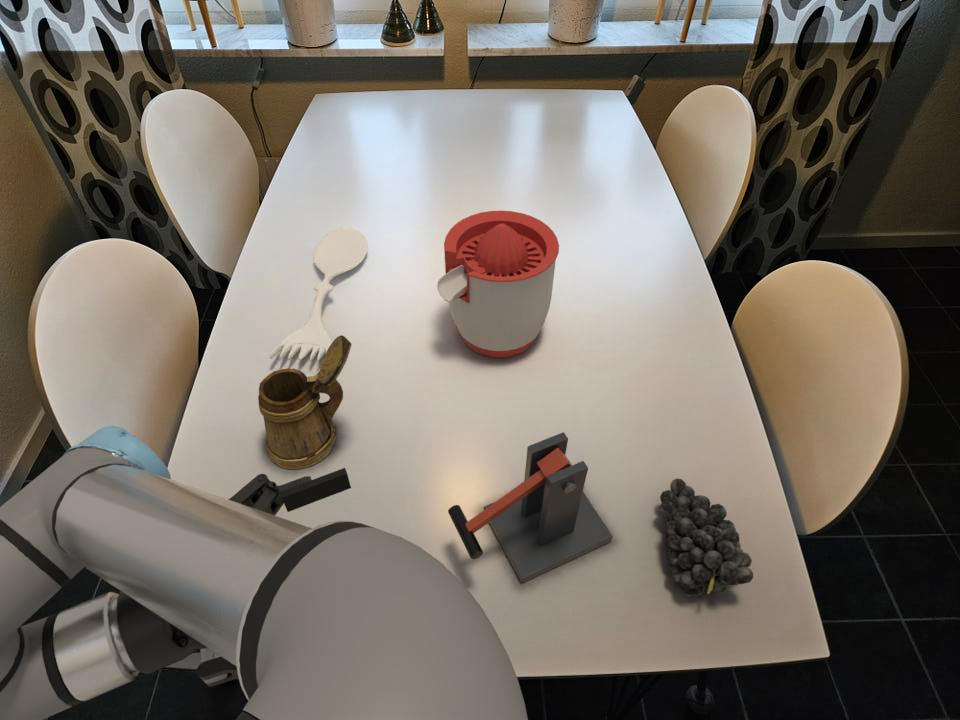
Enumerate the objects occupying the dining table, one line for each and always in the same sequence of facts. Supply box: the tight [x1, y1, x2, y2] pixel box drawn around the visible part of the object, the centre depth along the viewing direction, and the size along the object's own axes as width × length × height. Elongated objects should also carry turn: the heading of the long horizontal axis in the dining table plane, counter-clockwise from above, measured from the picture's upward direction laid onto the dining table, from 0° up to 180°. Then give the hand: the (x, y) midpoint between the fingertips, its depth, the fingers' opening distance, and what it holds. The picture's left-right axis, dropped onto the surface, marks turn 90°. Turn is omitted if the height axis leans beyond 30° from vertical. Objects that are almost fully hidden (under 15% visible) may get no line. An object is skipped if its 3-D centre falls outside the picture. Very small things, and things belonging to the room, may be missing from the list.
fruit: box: [659, 478, 754, 597], centre depth 73 cm, size 9×8×15 cm
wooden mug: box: [257, 334, 352, 470], centre depth 79 cm, size 9×14×18 cm, turn 97°
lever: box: [447, 448, 573, 560], centre depth 68 cm, size 14×6×2 cm
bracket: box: [483, 431, 614, 584], centre depth 72 cm, size 12×10×15 cm
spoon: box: [268, 227, 369, 362], centre depth 104 cm, size 9×32×4 cm, turn 175°
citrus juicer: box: [436, 210, 560, 358], centre depth 92 cm, size 16×17×20 cm
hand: (370, 534), depth 61 cm, fingers open, 13 cm apart
